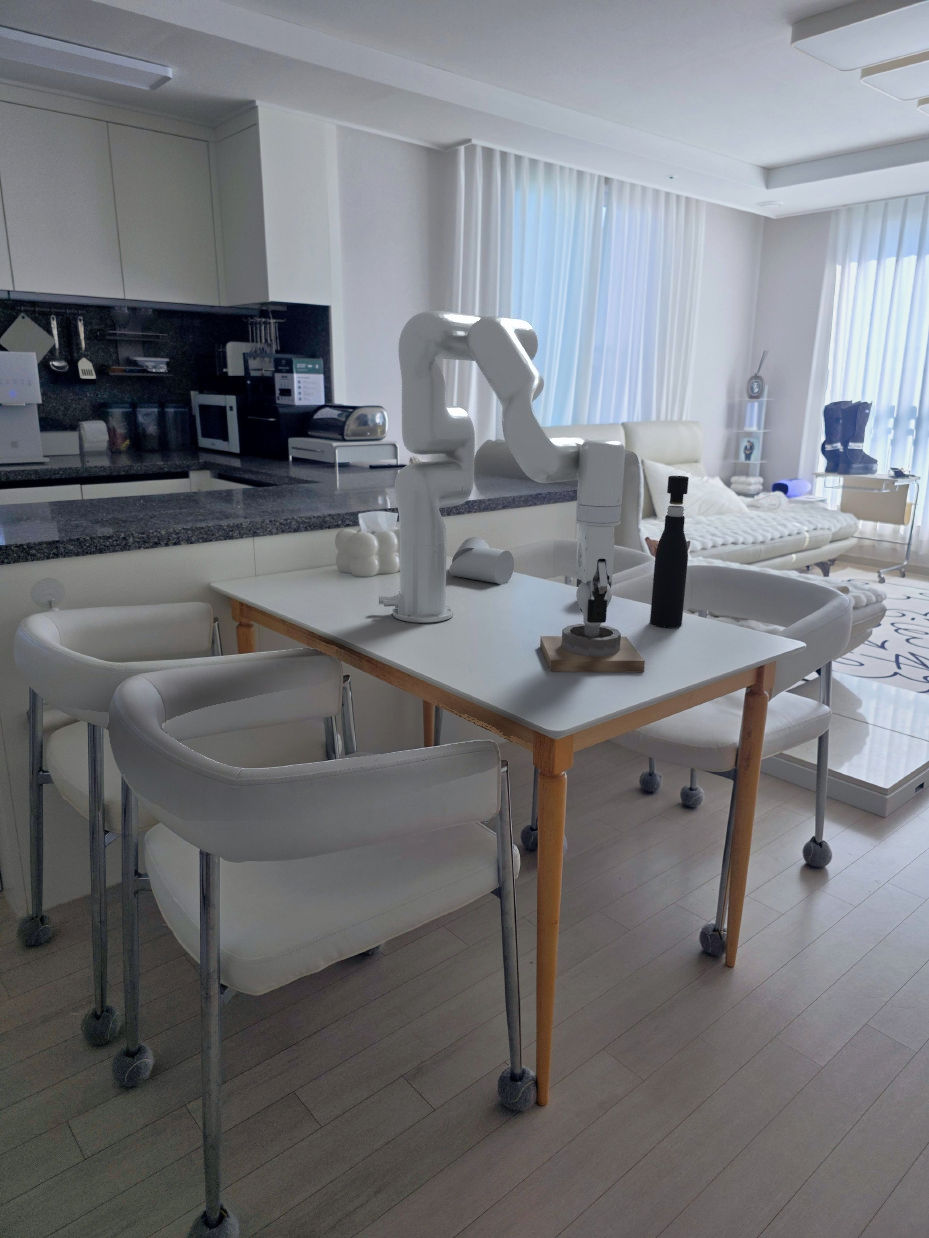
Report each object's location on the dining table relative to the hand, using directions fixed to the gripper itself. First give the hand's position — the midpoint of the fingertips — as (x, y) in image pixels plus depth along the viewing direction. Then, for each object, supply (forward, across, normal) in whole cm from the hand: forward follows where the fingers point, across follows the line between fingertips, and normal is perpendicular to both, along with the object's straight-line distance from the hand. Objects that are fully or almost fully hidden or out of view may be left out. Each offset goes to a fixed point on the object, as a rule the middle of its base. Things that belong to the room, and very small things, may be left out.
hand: (592, 615), depth 144 cm
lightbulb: (+4, 0, 0) cm, 4 cm away
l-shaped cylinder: (+8, -67, -16) cm, 69 cm away
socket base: (+8, 0, 0) cm, 8 cm away
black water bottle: (+8, -23, +20) cm, 32 cm away
